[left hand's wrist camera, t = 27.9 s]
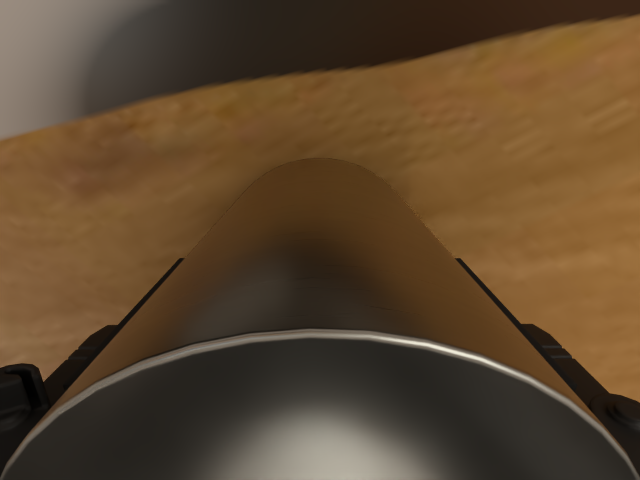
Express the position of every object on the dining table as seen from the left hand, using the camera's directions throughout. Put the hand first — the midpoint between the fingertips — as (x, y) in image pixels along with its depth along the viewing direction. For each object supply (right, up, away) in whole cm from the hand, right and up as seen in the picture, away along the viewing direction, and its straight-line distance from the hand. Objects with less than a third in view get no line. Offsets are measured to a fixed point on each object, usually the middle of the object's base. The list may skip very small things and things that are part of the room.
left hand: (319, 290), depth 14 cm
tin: (0, +1, +3) cm, 3 cm away
